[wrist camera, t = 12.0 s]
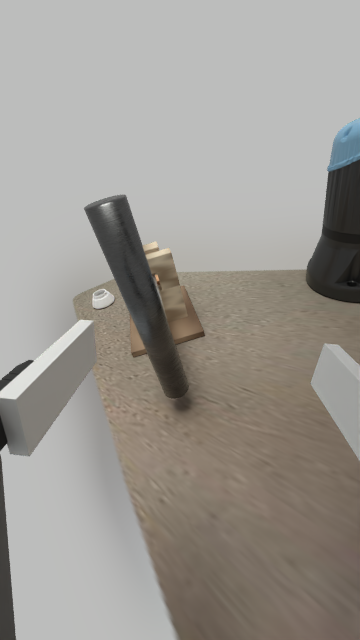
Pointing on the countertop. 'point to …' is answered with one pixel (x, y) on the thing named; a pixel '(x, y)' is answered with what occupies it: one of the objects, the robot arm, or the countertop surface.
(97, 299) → the lidless jar
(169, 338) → the crank handle
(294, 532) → the countertop surface
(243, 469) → the countertop surface
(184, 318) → the bearing stand
